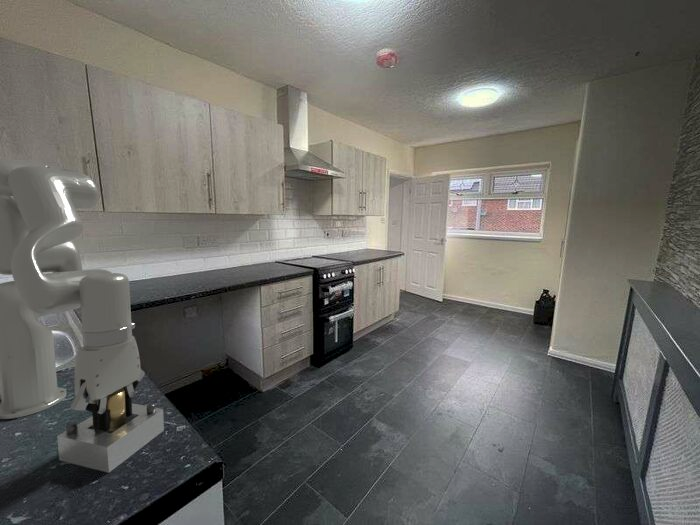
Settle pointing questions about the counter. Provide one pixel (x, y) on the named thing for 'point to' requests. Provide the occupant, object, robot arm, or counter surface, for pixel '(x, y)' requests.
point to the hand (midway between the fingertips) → (113, 421)
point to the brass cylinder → (116, 409)
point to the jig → (110, 439)
